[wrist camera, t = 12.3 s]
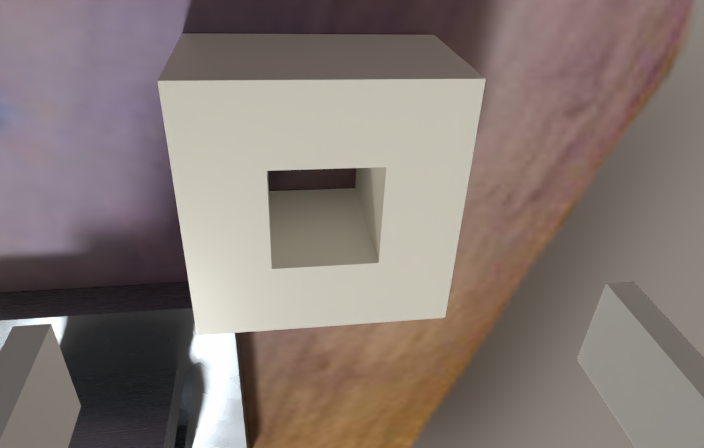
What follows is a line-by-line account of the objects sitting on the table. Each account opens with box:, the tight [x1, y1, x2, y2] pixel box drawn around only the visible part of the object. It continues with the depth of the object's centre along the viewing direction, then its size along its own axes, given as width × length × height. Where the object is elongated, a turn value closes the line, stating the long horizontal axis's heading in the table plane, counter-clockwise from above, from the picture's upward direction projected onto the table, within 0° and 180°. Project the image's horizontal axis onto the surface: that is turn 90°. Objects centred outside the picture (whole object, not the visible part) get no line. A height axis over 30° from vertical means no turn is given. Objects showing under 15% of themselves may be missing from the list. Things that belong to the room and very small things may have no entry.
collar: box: [158, 33, 486, 336], centre depth 21 cm, size 10×10×6 cm
